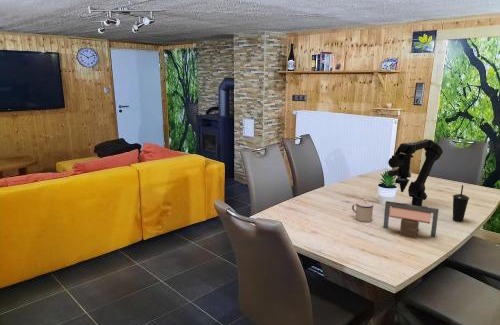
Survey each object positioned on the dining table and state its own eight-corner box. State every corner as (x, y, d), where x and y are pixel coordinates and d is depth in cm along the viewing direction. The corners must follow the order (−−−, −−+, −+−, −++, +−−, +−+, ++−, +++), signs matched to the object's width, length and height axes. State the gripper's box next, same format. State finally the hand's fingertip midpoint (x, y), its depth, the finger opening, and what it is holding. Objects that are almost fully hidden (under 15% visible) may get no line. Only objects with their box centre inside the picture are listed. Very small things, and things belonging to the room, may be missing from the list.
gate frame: (384, 226, 184) (386, 201, 181) (435, 235, 172) (438, 209, 169) (383, 227, 182) (385, 202, 179) (435, 237, 170) (438, 210, 167)
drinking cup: (460, 224, 186) (465, 188, 182) (446, 219, 193) (451, 184, 188) (469, 221, 190) (474, 186, 185) (455, 216, 196) (460, 182, 192)
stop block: (403, 225, 185) (405, 211, 183) (418, 228, 182) (419, 214, 180) (399, 235, 173) (401, 220, 172) (415, 238, 170) (416, 223, 168)
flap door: (389, 216, 176) (391, 207, 179) (429, 223, 167) (430, 214, 170) (389, 215, 175) (391, 206, 178) (429, 222, 166) (431, 212, 170)
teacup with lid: (375, 219, 194) (377, 199, 191) (367, 223, 188) (368, 203, 185) (355, 213, 202) (357, 194, 200) (347, 217, 196) (348, 197, 194)
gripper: (392, 161, 210) (389, 186, 214) (386, 167, 194) (384, 194, 198) (412, 163, 205) (409, 188, 208) (408, 169, 189) (405, 197, 192)
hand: (402, 192), depth 202 cm, fingers closed
